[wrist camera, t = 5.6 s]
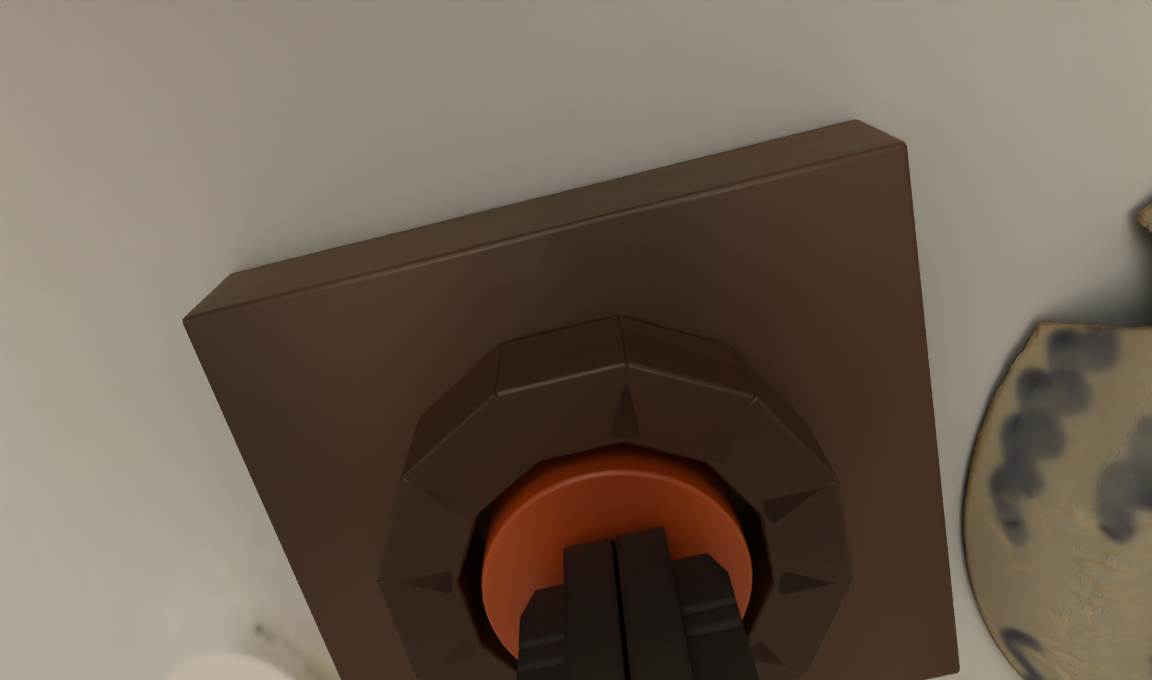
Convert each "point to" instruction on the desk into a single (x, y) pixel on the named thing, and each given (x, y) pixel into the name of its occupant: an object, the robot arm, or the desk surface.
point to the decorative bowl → (1067, 505)
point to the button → (603, 522)
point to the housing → (608, 400)
